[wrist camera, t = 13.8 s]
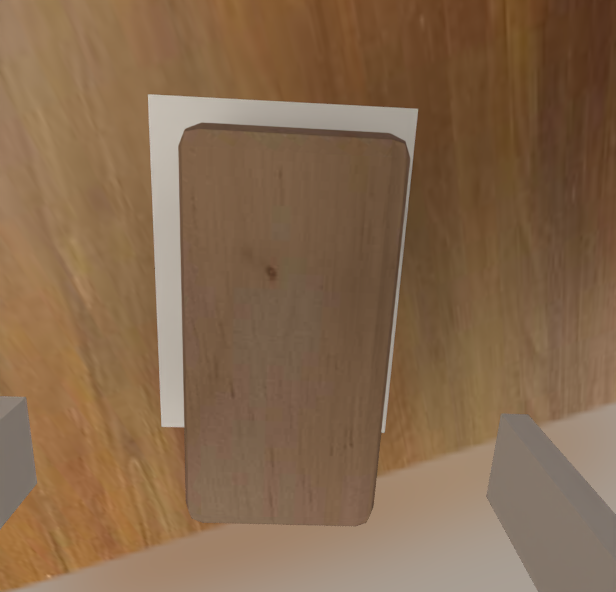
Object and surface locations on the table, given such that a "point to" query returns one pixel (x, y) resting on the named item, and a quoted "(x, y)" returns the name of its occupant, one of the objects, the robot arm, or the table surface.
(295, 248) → the wooden block
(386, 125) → the white mat
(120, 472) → the table surface
